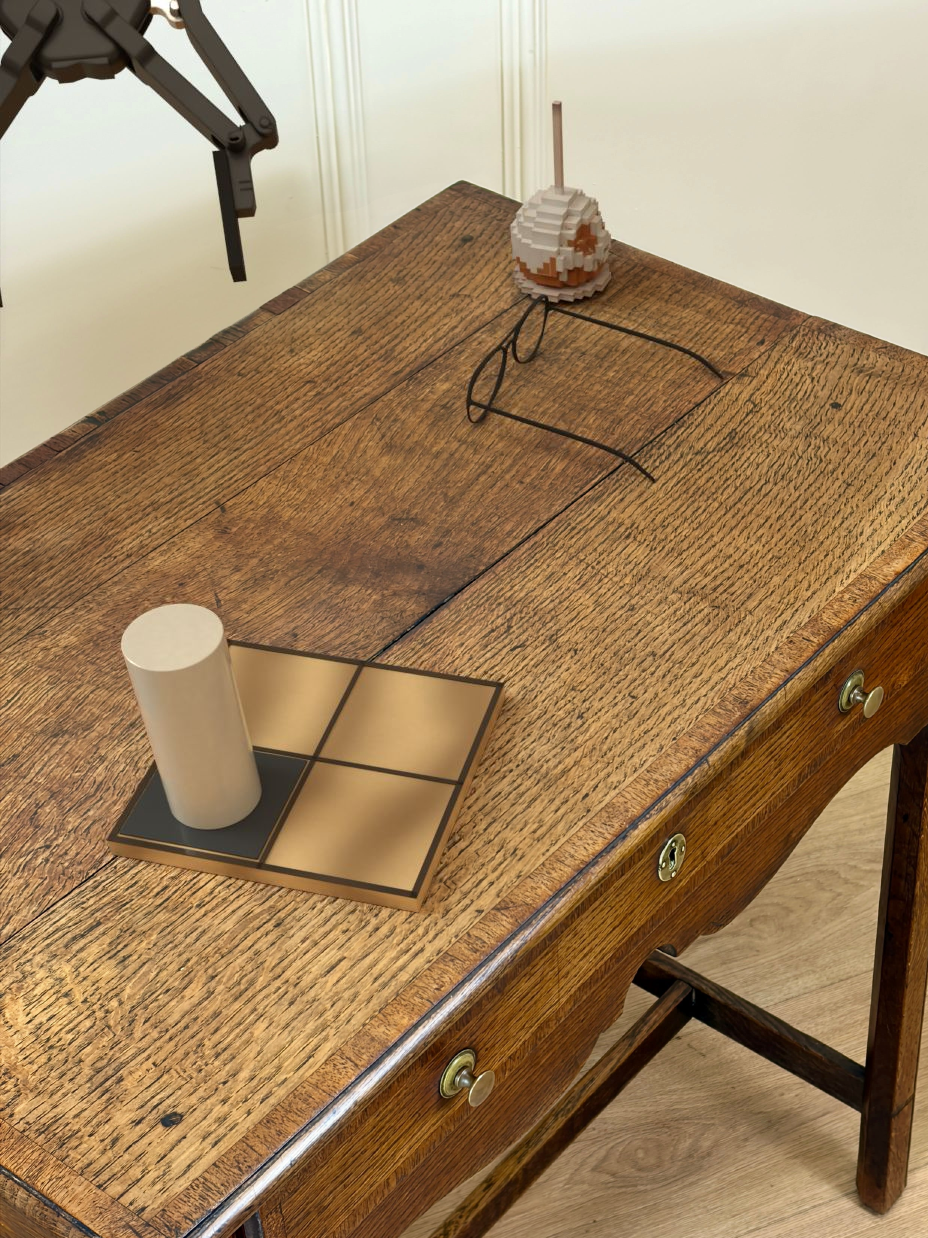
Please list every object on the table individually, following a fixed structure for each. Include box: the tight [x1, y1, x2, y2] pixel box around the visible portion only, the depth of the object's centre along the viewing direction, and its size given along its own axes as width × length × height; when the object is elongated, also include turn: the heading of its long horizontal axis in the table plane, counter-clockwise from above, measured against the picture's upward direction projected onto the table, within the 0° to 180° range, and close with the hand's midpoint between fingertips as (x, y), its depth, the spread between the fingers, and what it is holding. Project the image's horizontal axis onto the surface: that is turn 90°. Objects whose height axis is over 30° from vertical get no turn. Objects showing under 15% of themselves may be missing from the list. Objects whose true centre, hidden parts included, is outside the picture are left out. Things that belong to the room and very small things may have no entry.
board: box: [105, 638, 506, 913], centre depth 92 cm, size 18×17×1 cm
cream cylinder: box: [120, 603, 262, 830], centre depth 85 cm, size 5×5×12 cm
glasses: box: [465, 294, 724, 483], centre depth 116 cm, size 14×15×5 cm
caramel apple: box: [509, 100, 612, 303], centre depth 125 cm, size 8×8×15 cm
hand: (115, 288), depth 88 cm, fingers open, 13 cm apart
